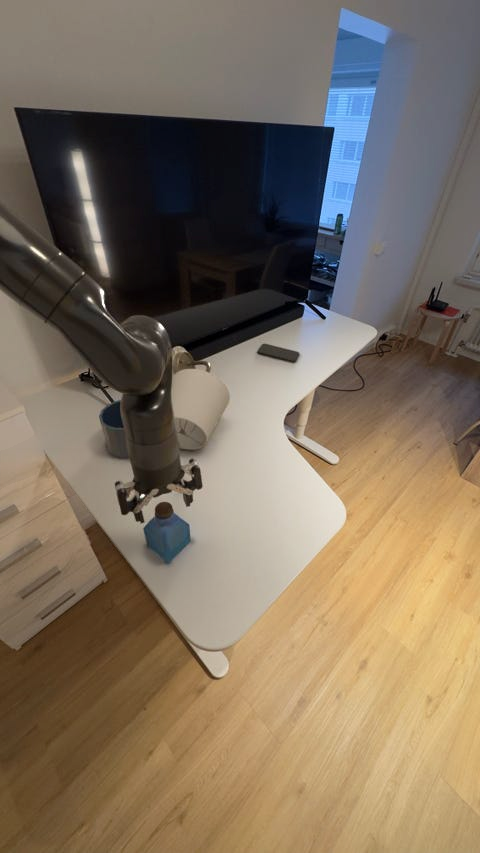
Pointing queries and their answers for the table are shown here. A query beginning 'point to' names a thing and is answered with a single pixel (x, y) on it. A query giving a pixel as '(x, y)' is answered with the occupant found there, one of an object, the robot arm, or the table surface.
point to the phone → (278, 352)
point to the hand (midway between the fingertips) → (164, 511)
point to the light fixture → (195, 400)
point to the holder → (114, 430)
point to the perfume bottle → (167, 532)
